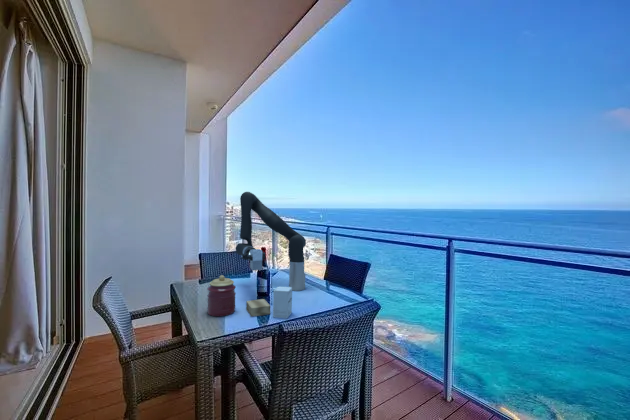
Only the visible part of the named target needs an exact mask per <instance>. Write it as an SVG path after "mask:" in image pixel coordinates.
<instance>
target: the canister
mask: <svg viewBox="0 0 630 420" xmlns="http://www.w3.org/2000/svg"><path fill="white" fill-rule="evenodd" d="M234 283H235V281H234V280H232V279H231V278H228V277H225V276H224V275H223V274H221V275H219V277H218V278H215V279H212V281H210V282H209V284H208V285H209V286H208V287H207V291H208V293H207V295H206V296H207V307H206V311H207V314H208V315H209V316H210V317H211V316H212V317H224V316H225V317H226V316H229V315H231V314H233V313H234V312H235V310H236V294H237V293H236V291H235V289H236V285H235V284H234Z"/></svg>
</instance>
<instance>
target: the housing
mask: <svg viewBox="0 0 630 420" xmlns="http://www.w3.org/2000/svg"><path fill="white" fill-rule="evenodd" d="M262 253H263V250H262V249H259V248H258V249H257V248H255V249H252V250H250V255H251V256H252V257H253V261H251V260H250V261H249V268H250V270H252V271H263V260H262Z"/></svg>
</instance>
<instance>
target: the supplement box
mask: <svg viewBox="0 0 630 420" xmlns="http://www.w3.org/2000/svg"><path fill="white" fill-rule="evenodd" d="M272 293H273V295H272V297H273V299H272V317H273V318H277V319H285V320H286V319H289V317H290V315H291V314H292V313H293V312H292V311H293V310H292V309H293V290H292V287H289V286H276V288H275V289H274V290H273V292H272Z"/></svg>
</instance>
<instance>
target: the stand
mask: <svg viewBox="0 0 630 420" xmlns="http://www.w3.org/2000/svg"><path fill="white" fill-rule="evenodd" d="M245 301H246V305H245V310H246V311H247V313H248V314H249V315H250V318H252V317H254V318H255V317H259V316H267V315H270V314H271V305H270V303H268V301H267V300H266V299H265V298H260V299H253V300H251V299H250V300H245Z"/></svg>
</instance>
